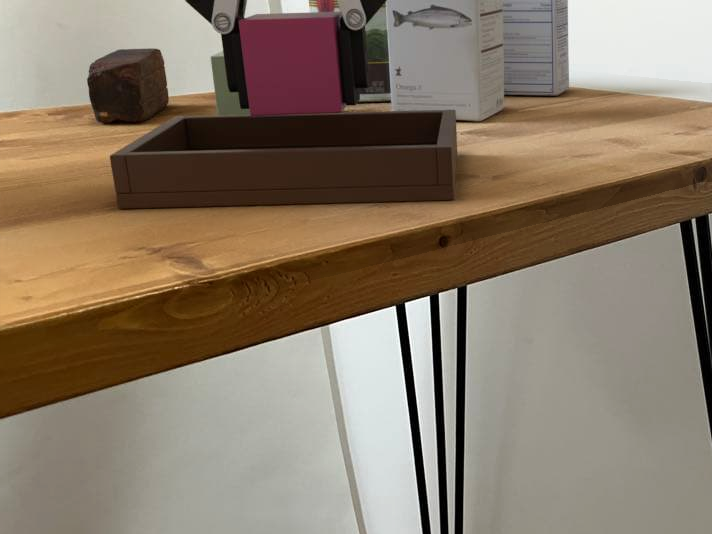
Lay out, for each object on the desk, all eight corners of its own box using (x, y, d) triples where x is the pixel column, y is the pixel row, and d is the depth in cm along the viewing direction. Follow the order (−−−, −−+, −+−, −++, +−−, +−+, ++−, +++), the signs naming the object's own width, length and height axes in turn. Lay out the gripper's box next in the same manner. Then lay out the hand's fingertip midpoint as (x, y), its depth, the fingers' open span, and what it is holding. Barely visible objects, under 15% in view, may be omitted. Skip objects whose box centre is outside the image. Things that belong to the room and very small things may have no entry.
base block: (218, 125, 84) (210, 56, 82) (237, 111, 91) (229, 47, 89) (311, 122, 85) (305, 54, 83) (323, 109, 91) (317, 45, 89)
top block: (250, 116, 61) (238, 20, 59) (265, 103, 66) (255, 14, 64) (341, 113, 61) (332, 17, 59) (350, 100, 66) (342, 11, 64)
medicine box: (570, 90, 100) (569, -13, 96) (557, 97, 96) (556, -10, 92) (486, 89, 102) (483, -12, 98) (470, 95, 98) (466, -10, 94)
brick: (123, 106, 95) (114, 48, 93) (171, 104, 95) (163, 47, 93) (92, 126, 85) (81, 62, 83) (146, 124, 85) (136, 60, 83)
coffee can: (374, 106, 92) (361, -79, 87) (291, 97, 98) (274, -76, 93) (456, 92, 100) (448, -79, 94) (374, 84, 106) (363, -77, 100)
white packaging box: (389, 120, 85) (377, -59, 80) (421, 107, 91) (412, -60, 86) (482, 122, 83) (475, -60, 78) (508, 108, 90) (503, -61, 85)
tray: (117, 209, 58) (108, 155, 57) (180, 160, 71) (174, 116, 70) (453, 200, 59) (451, 146, 58) (457, 153, 71) (455, 109, 70)
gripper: (434, -257, 60) (452, 90, 67) (114, -250, 59) (167, 100, 66) (428, -282, 53) (450, 108, 60) (66, -275, 52) (131, 119, 59)
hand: (301, 100), depth 63 cm, fingers closed on top block, 5 cm apart
